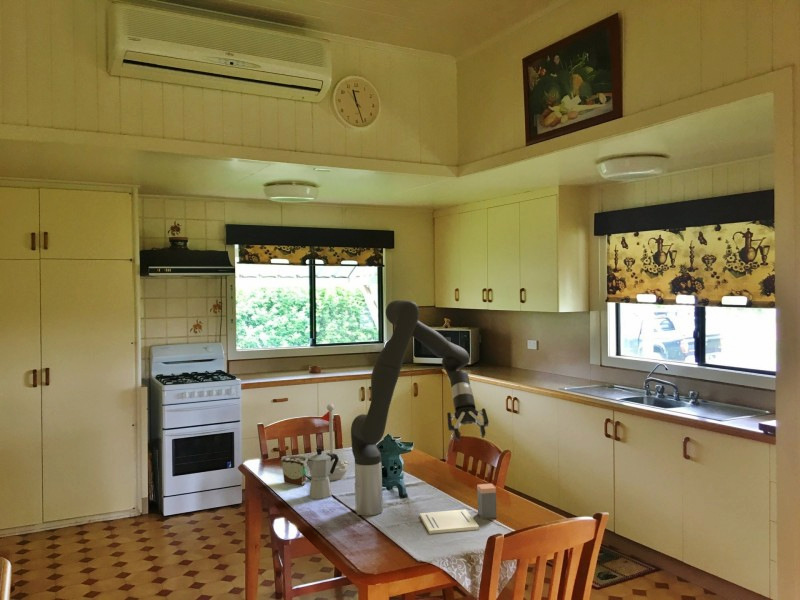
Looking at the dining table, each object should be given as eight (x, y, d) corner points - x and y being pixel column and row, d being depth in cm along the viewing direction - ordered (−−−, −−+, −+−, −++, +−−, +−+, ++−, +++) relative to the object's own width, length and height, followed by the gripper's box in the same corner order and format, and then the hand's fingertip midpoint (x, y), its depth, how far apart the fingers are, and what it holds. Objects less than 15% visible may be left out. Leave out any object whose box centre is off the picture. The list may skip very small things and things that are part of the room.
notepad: (429, 533, 209) (429, 530, 209) (419, 516, 225) (419, 513, 225) (479, 529, 212) (478, 526, 212) (465, 512, 228) (465, 509, 228)
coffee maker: (313, 502, 242) (311, 453, 242) (299, 496, 249) (298, 449, 248) (346, 492, 252) (344, 445, 252) (332, 487, 259) (331, 441, 258)
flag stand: (335, 470, 283) (332, 399, 282) (355, 475, 274) (352, 403, 273) (310, 477, 274) (307, 404, 273) (330, 483, 265) (327, 408, 264)
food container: (315, 482, 266) (314, 457, 266) (305, 487, 261) (304, 461, 261) (291, 478, 273) (290, 454, 273) (281, 482, 268) (280, 457, 267)
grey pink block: (482, 519, 221) (481, 489, 220) (477, 513, 226) (477, 484, 225) (496, 517, 222) (495, 487, 221) (492, 512, 226) (491, 483, 226)
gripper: (443, 395, 239) (451, 435, 229) (483, 390, 240) (492, 431, 230) (443, 405, 245) (450, 445, 235) (481, 400, 246) (490, 440, 236)
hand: (471, 438), depth 233 cm, fingers open, 8 cm apart
